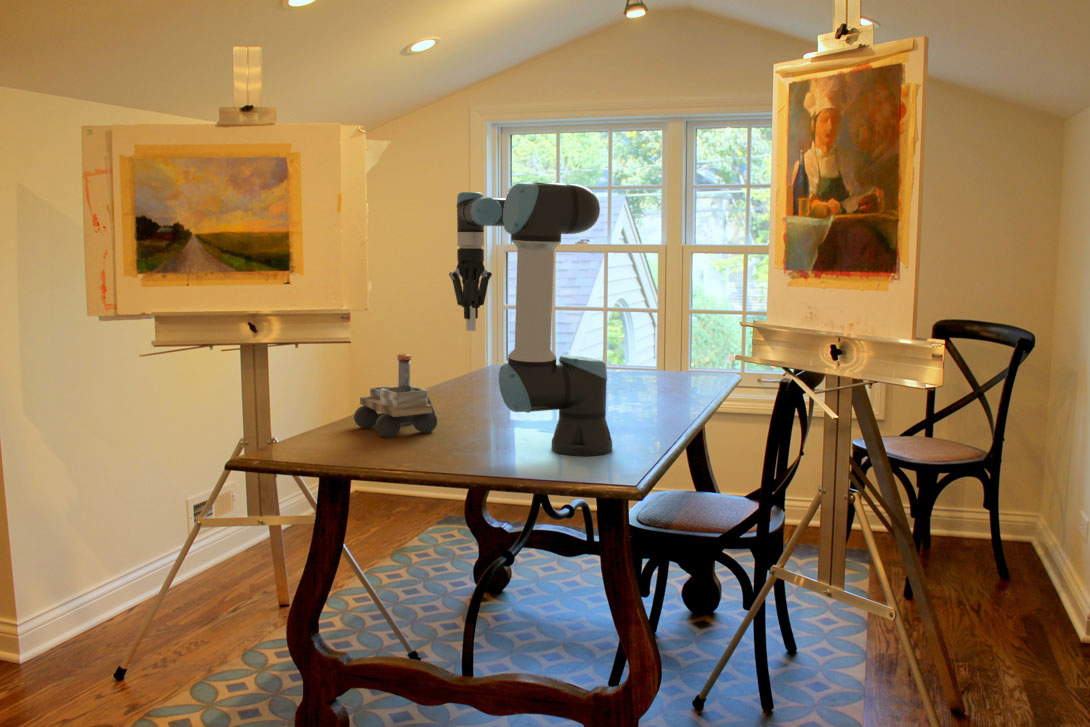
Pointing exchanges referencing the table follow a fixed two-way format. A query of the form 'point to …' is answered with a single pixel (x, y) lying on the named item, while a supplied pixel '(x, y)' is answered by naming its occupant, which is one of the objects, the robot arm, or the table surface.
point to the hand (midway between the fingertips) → (470, 330)
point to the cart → (395, 410)
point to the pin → (404, 373)
